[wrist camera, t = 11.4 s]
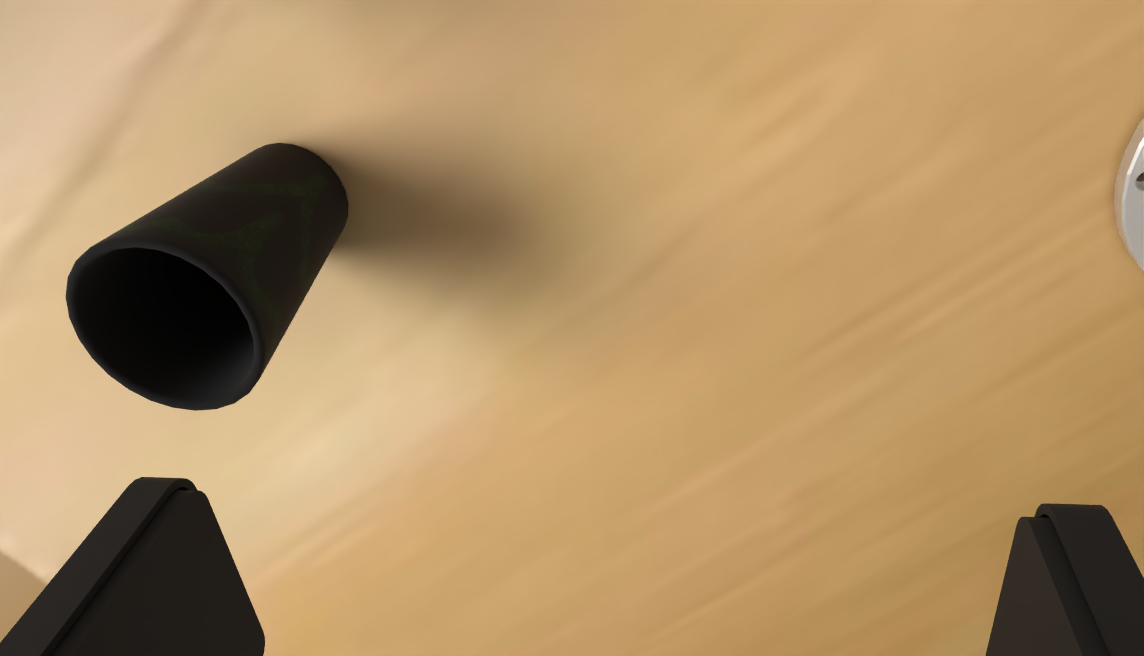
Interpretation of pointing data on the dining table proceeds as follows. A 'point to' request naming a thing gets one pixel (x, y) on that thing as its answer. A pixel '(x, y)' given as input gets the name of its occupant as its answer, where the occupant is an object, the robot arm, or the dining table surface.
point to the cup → (209, 279)
